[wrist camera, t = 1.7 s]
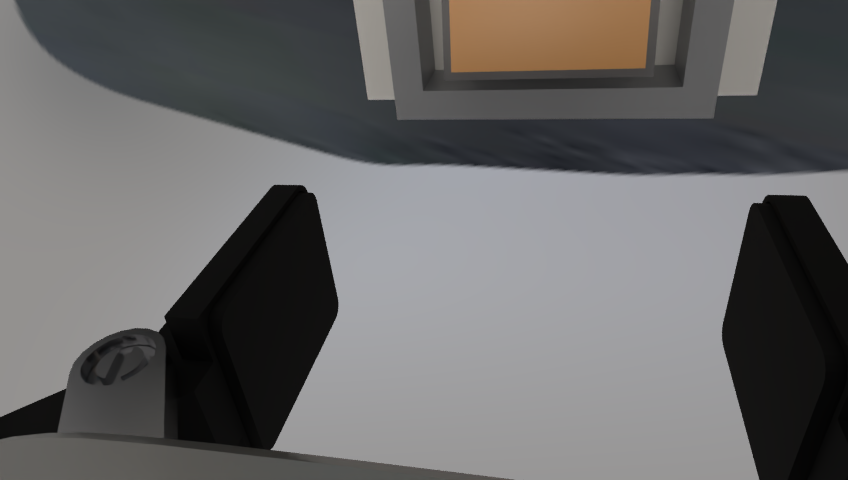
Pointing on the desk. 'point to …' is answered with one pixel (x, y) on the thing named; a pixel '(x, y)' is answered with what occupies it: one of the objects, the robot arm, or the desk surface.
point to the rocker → (549, 39)
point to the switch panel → (568, 97)
